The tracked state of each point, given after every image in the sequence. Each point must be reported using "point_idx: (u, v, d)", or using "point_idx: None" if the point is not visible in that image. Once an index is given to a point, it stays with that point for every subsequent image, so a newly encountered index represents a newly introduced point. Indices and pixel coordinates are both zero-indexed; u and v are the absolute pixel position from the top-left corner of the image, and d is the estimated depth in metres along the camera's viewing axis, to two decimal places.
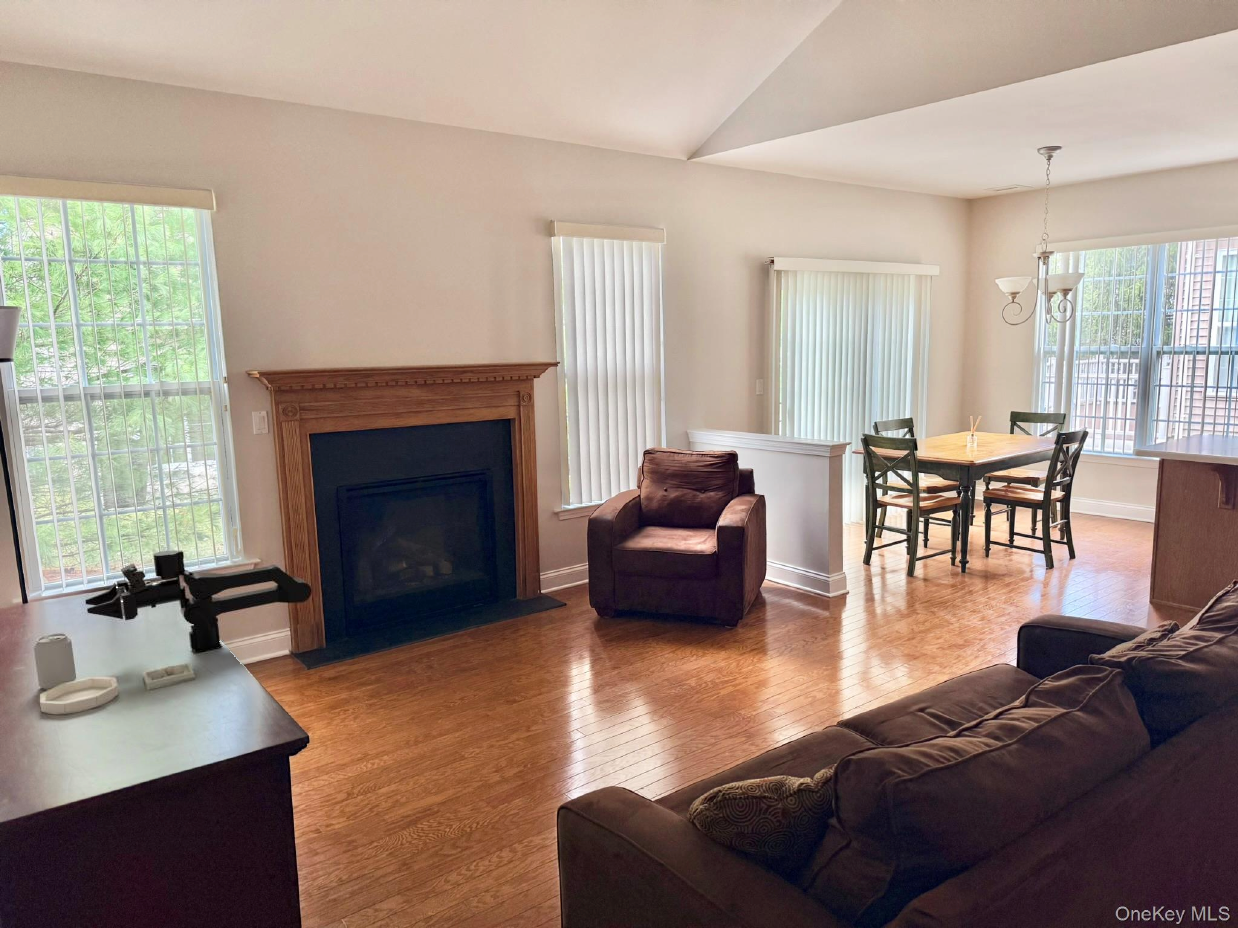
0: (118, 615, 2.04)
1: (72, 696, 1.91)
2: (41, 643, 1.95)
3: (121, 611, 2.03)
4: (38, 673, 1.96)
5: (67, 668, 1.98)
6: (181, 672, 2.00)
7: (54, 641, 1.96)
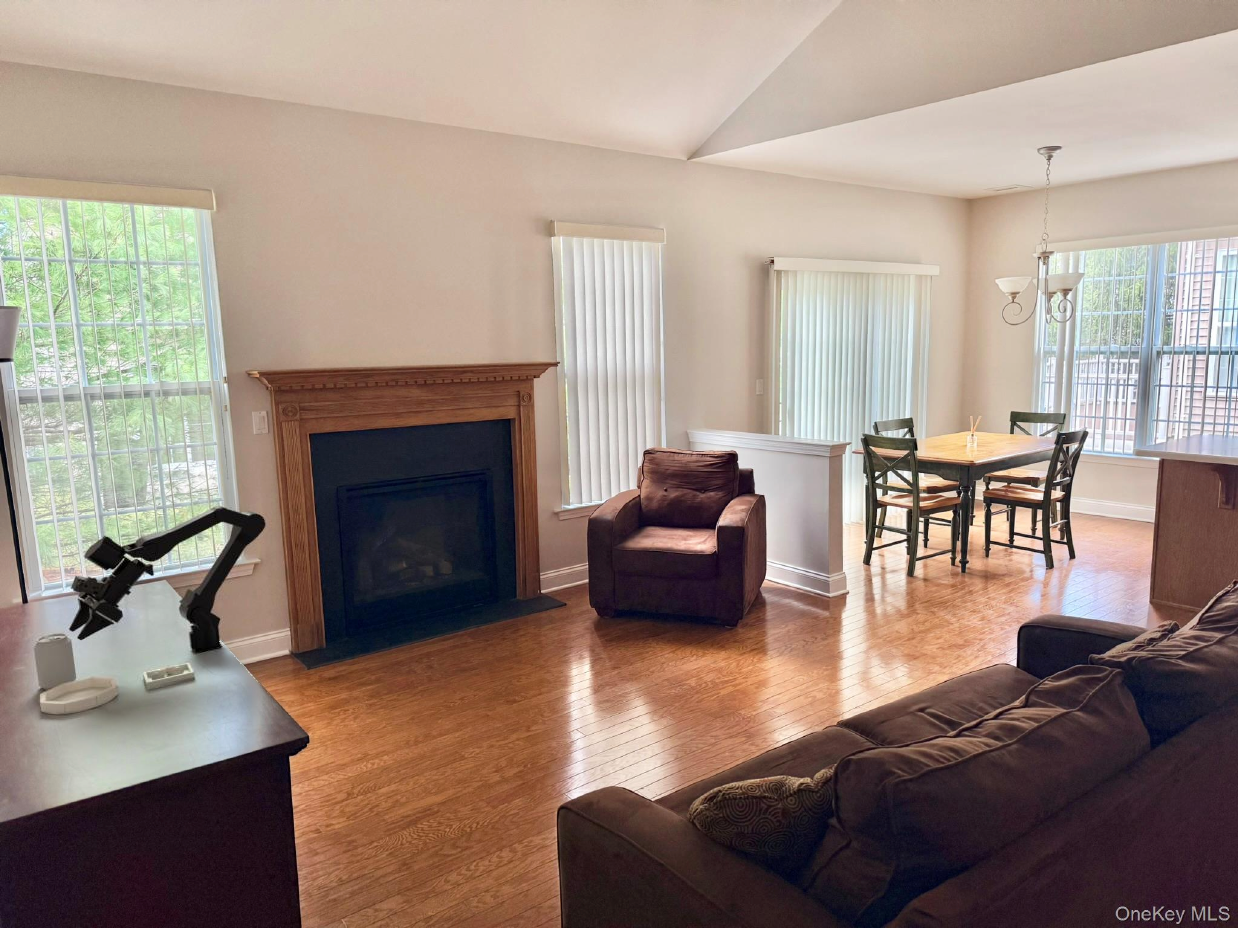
0: (107, 623, 2.00)
1: (72, 696, 1.91)
2: (41, 643, 1.95)
3: (106, 619, 1.99)
4: (38, 673, 1.96)
5: (67, 668, 1.98)
6: (181, 672, 2.00)
7: (54, 641, 1.96)
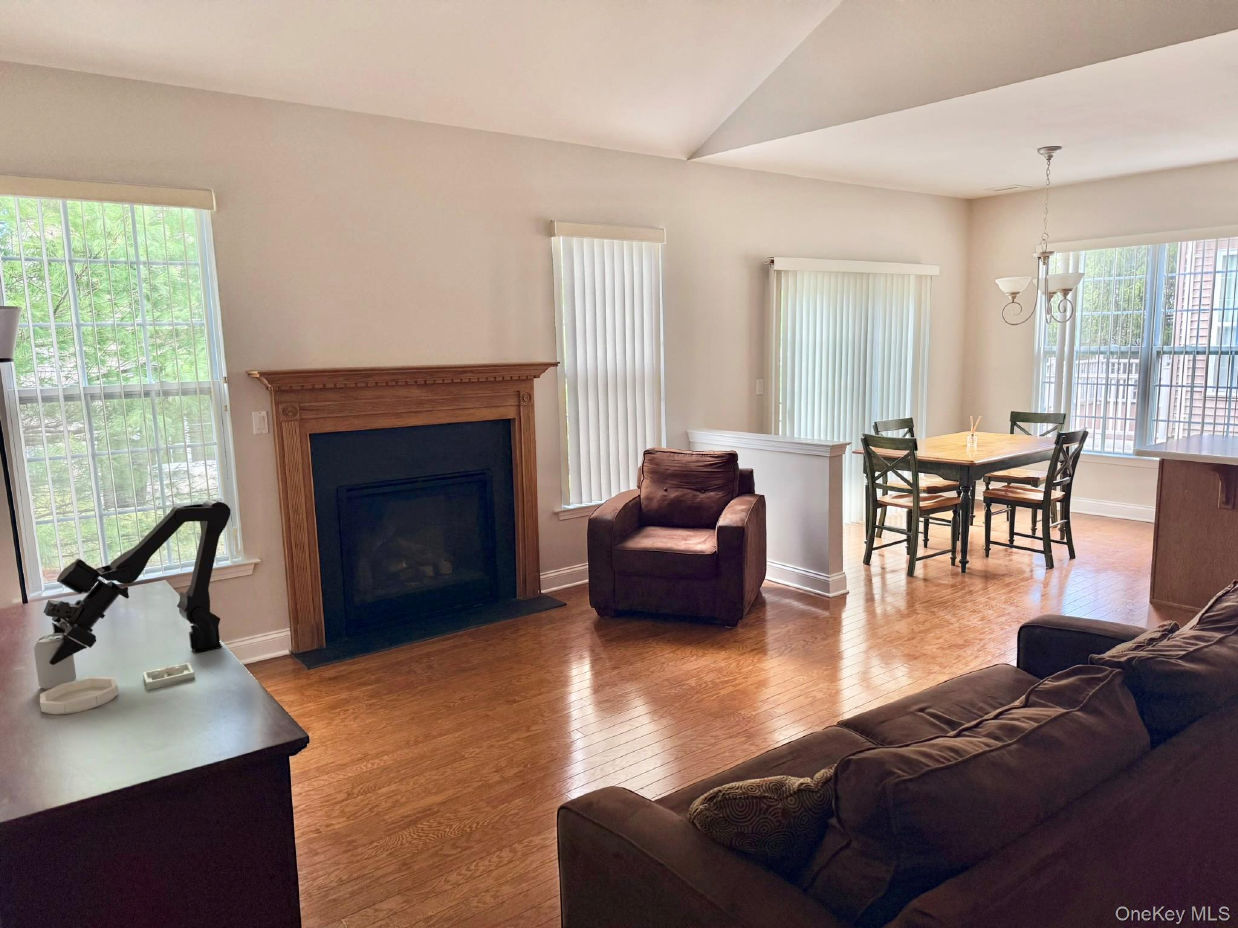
0: (80, 647, 1.97)
1: (72, 696, 1.91)
2: (41, 643, 1.95)
3: (79, 643, 1.96)
4: (38, 673, 1.96)
5: (67, 668, 1.98)
6: (181, 672, 2.00)
7: (54, 641, 1.96)
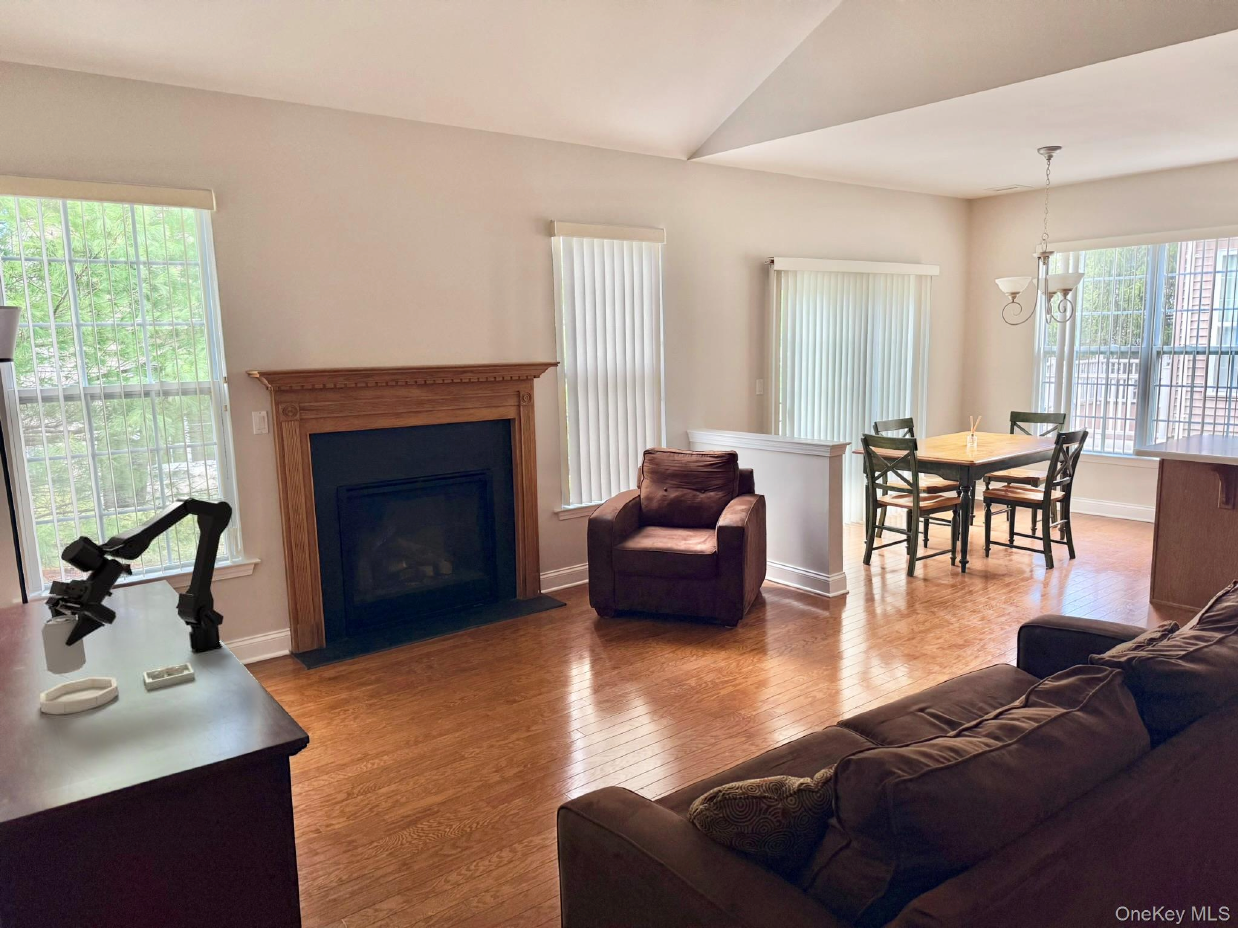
0: (97, 625, 1.91)
1: (72, 696, 1.91)
2: (53, 625, 1.87)
3: (98, 621, 1.90)
4: (49, 657, 1.87)
5: (81, 650, 1.91)
6: (181, 672, 2.00)
7: (68, 622, 1.88)
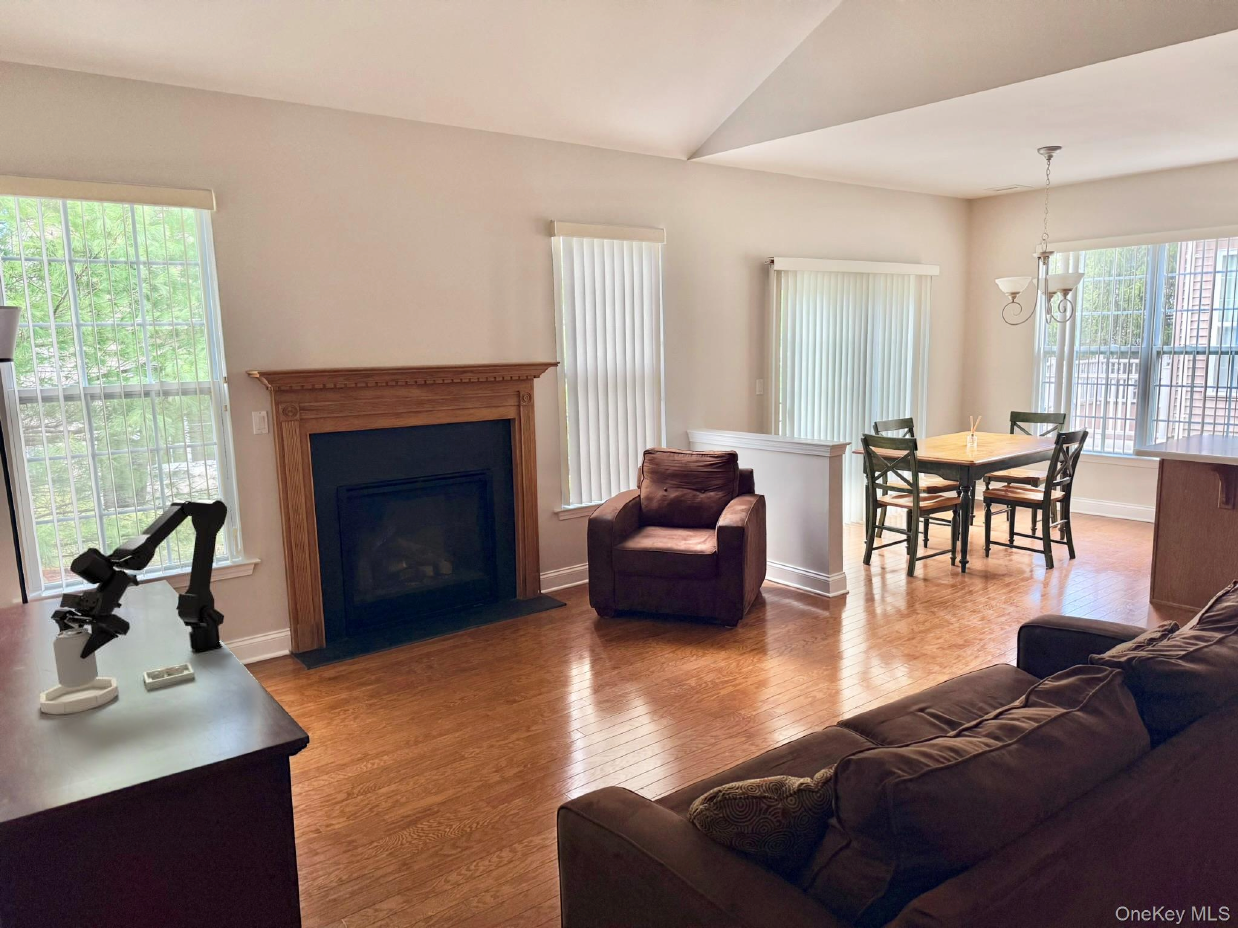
0: (110, 637, 1.90)
1: (72, 696, 1.91)
2: (67, 638, 1.85)
3: (112, 632, 1.89)
4: (63, 671, 1.85)
5: (94, 662, 1.89)
6: (181, 672, 2.00)
7: (81, 634, 1.87)
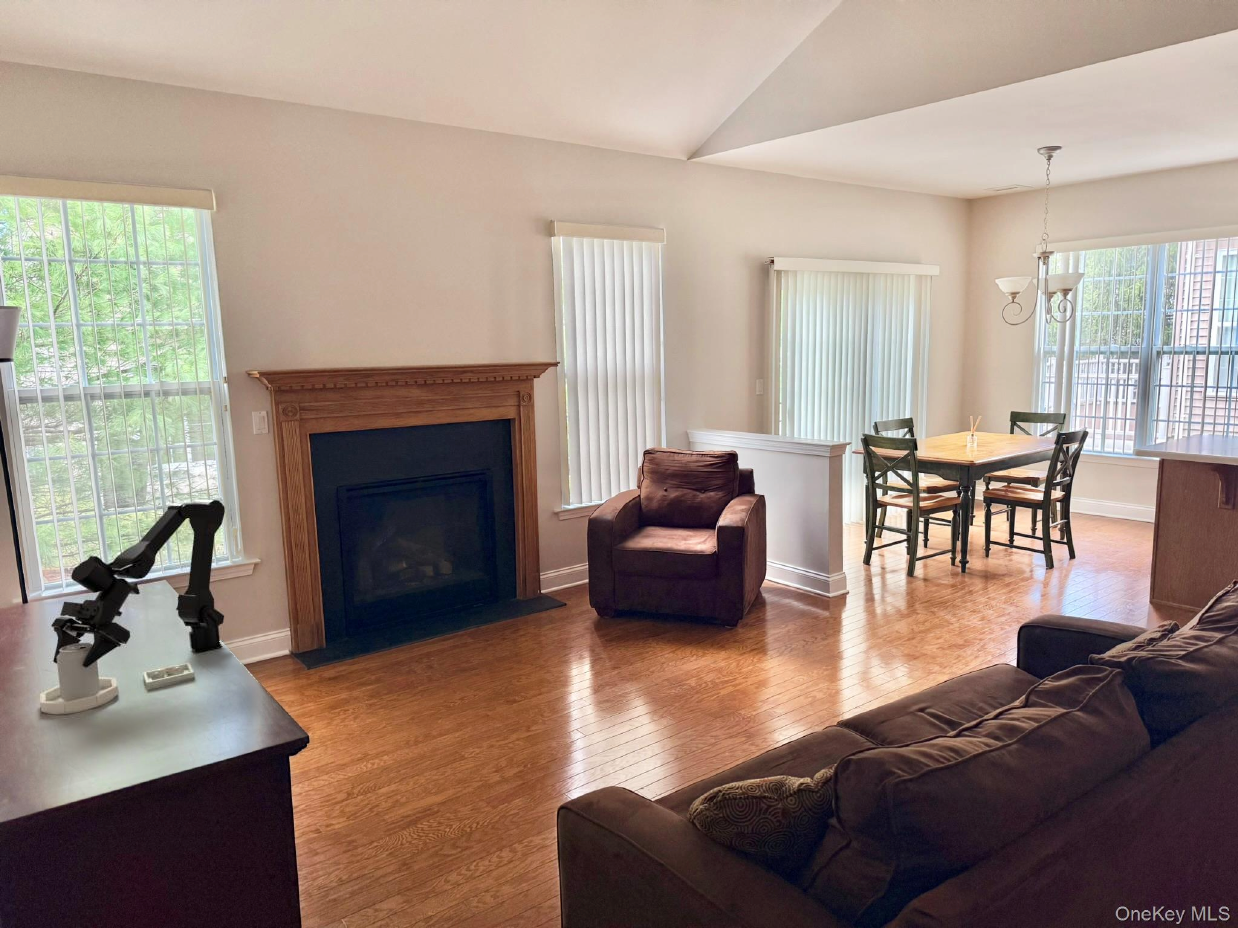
0: (113, 646, 1.90)
1: None
2: (71, 653, 1.86)
3: (115, 641, 1.89)
4: (66, 685, 1.86)
5: (96, 677, 1.90)
6: (181, 672, 2.00)
7: (85, 649, 1.87)
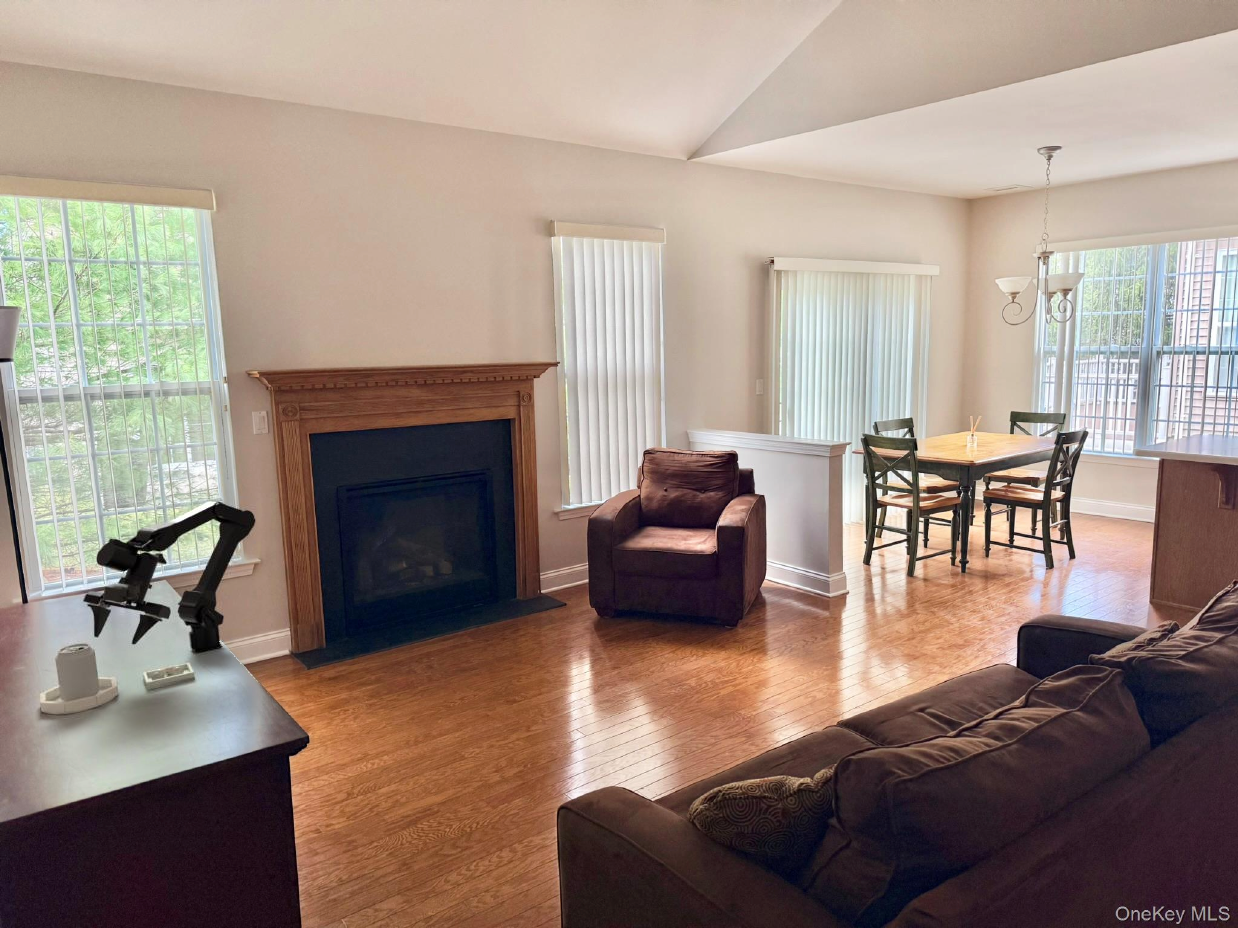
0: (155, 621, 2.03)
1: None
2: (69, 654, 1.85)
3: (159, 619, 2.02)
4: (65, 686, 1.86)
5: (96, 677, 1.90)
6: (181, 672, 2.00)
7: (83, 650, 1.87)
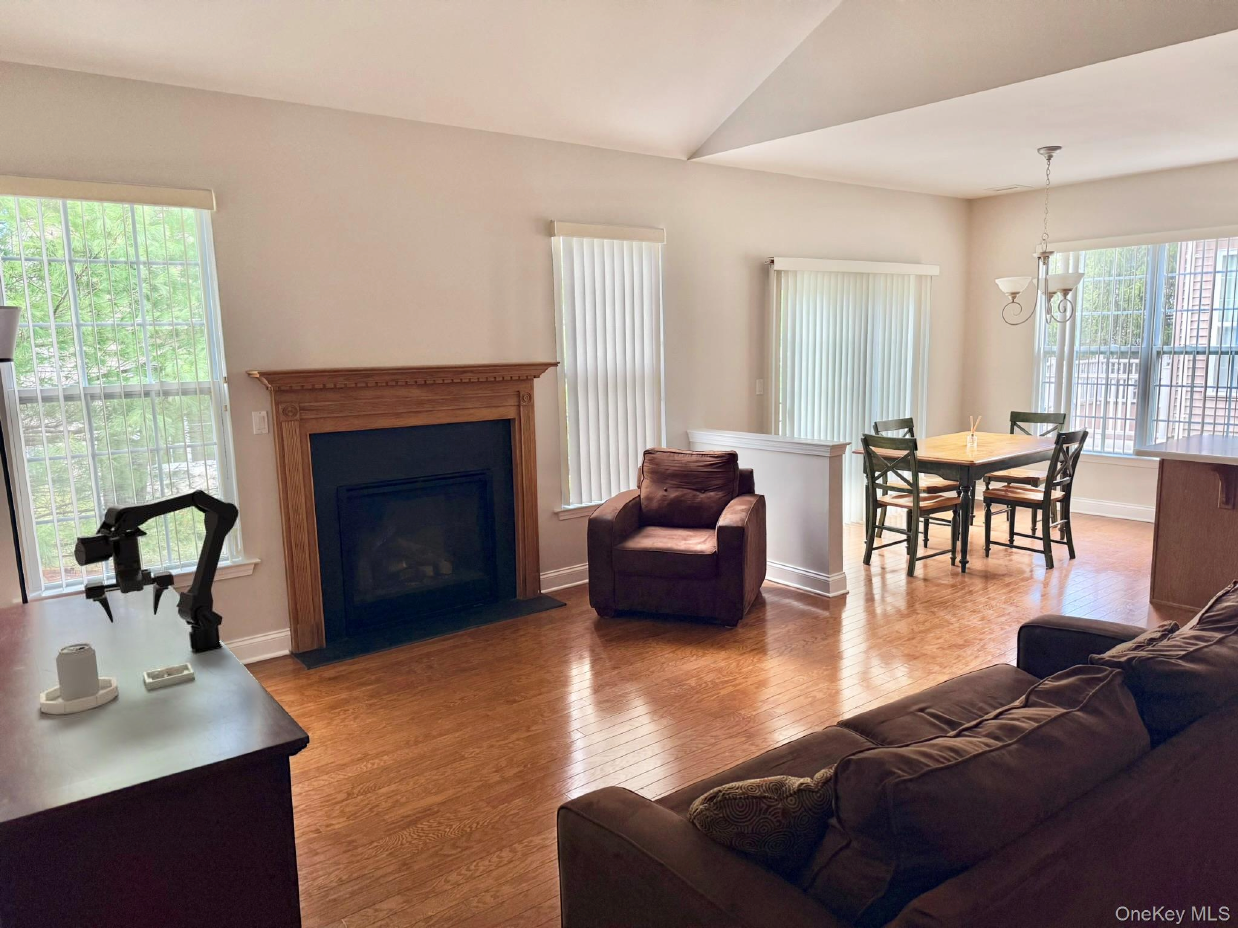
0: None
1: None
2: (70, 653, 1.86)
3: None
4: (65, 686, 1.86)
5: (96, 677, 1.90)
6: (181, 672, 2.00)
7: (84, 650, 1.87)
